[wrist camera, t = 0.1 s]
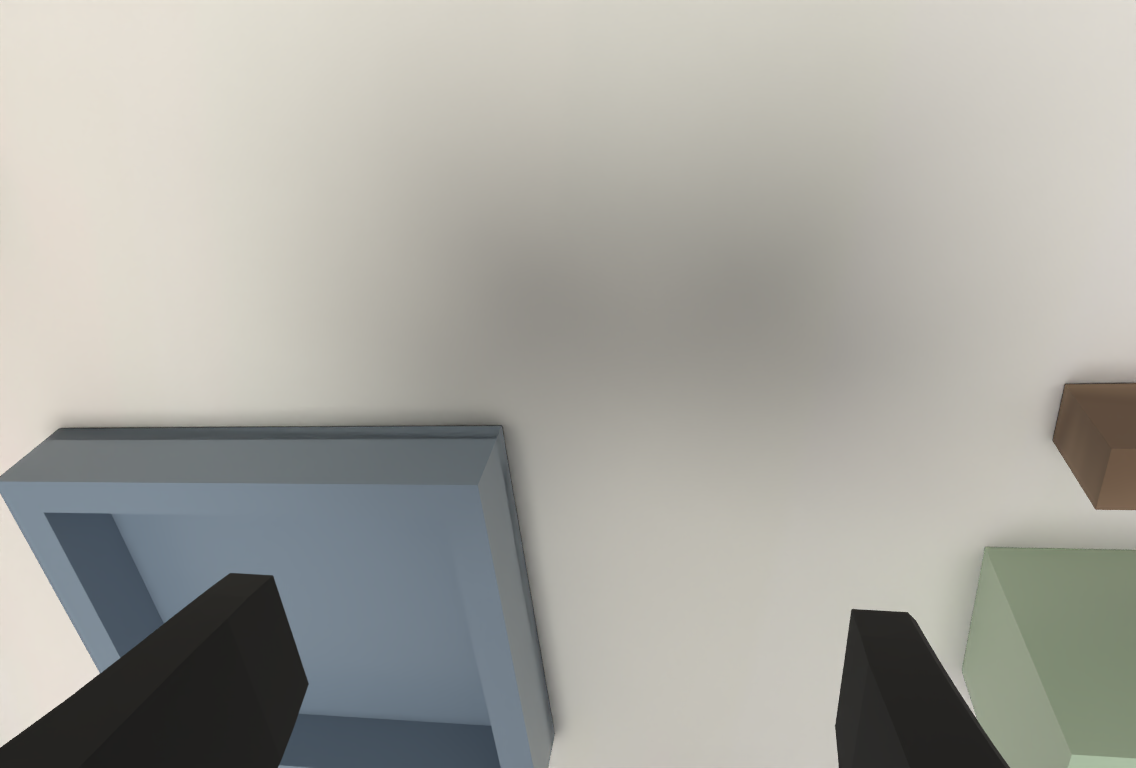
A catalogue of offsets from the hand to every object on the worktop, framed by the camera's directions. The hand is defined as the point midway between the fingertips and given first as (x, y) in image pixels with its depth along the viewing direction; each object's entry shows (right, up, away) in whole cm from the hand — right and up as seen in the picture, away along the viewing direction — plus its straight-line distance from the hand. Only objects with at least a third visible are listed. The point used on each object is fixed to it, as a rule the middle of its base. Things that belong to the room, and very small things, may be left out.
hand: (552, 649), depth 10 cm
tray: (-7, -3, +15) cm, 17 cm away
